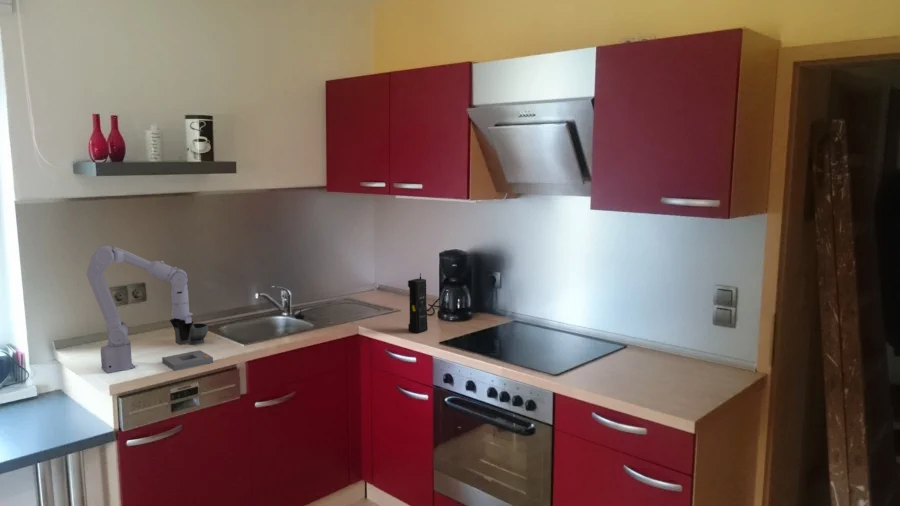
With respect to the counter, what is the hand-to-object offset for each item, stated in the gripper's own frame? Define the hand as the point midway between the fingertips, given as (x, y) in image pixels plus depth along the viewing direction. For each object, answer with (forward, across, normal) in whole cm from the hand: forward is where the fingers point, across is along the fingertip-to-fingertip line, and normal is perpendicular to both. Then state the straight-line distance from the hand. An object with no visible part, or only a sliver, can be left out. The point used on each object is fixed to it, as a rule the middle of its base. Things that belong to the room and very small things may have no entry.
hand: (182, 338), depth 242 cm
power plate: (+8, -3, 0) cm, 9 cm away
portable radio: (+9, -26, -91) cm, 95 cm away
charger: (+2, 0, 0) cm, 2 cm away
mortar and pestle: (+9, +21, -13) cm, 26 cm away
